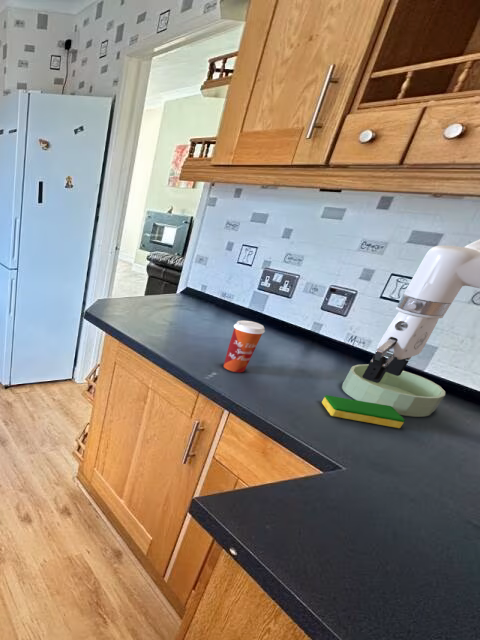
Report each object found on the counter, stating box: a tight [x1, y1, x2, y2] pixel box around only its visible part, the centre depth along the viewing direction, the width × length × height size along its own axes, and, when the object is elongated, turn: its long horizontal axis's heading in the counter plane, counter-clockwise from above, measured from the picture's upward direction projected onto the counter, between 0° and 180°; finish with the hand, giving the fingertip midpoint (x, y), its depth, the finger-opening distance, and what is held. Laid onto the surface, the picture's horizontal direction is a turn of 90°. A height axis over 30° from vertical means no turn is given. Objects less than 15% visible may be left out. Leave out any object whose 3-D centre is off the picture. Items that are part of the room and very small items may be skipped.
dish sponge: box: [321, 394, 406, 429], centre depth 102 cm, size 7×14×2 cm, turn 69°
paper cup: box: [223, 320, 266, 373], centre depth 121 cm, size 8×8×14 cm
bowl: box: [341, 363, 446, 418], centre depth 109 cm, size 18×18×6 cm
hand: (380, 376), depth 97 cm, fingers open, 8 cm apart
